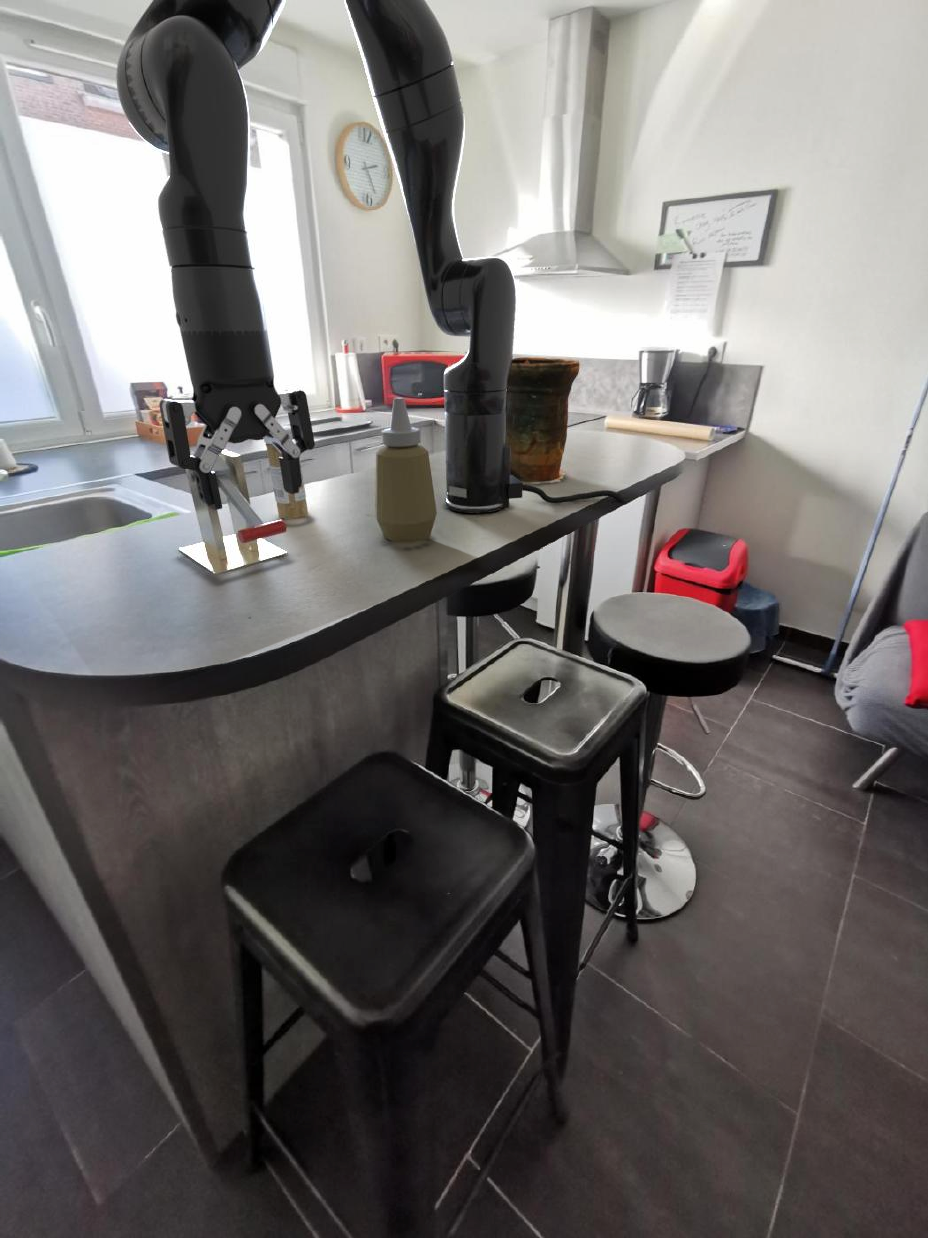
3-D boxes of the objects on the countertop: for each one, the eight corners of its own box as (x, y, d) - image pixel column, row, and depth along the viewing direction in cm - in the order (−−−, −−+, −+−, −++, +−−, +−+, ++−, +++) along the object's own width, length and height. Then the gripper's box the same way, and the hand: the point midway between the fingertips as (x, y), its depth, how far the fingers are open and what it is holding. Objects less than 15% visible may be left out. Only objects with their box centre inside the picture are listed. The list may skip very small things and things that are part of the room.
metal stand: (289, 562, 70) (271, 456, 64) (217, 583, 64) (190, 470, 58) (248, 540, 77) (229, 443, 71) (181, 558, 71) (153, 455, 65)
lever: (286, 538, 63) (287, 521, 62) (243, 549, 60) (244, 532, 59) (230, 469, 68) (230, 452, 66) (188, 476, 65) (187, 459, 63)
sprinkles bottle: (314, 522, 83) (301, 427, 77) (283, 528, 81) (267, 430, 75) (303, 514, 87) (290, 422, 80) (274, 519, 84) (257, 426, 78)
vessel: (584, 482, 101) (595, 360, 92) (509, 489, 98) (512, 363, 89) (552, 465, 113) (559, 355, 104) (484, 470, 110) (485, 358, 101)
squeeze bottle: (390, 555, 71) (378, 404, 63) (369, 536, 77) (355, 396, 69) (447, 544, 74) (443, 399, 66) (423, 527, 81) (416, 392, 72)
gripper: (156, 327, 45) (201, 522, 53) (313, 326, 54) (333, 493, 61) (127, 327, 50) (172, 506, 58) (275, 326, 59) (298, 481, 66)
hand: (255, 499), depth 59 cm, fingers open, 8 cm apart
